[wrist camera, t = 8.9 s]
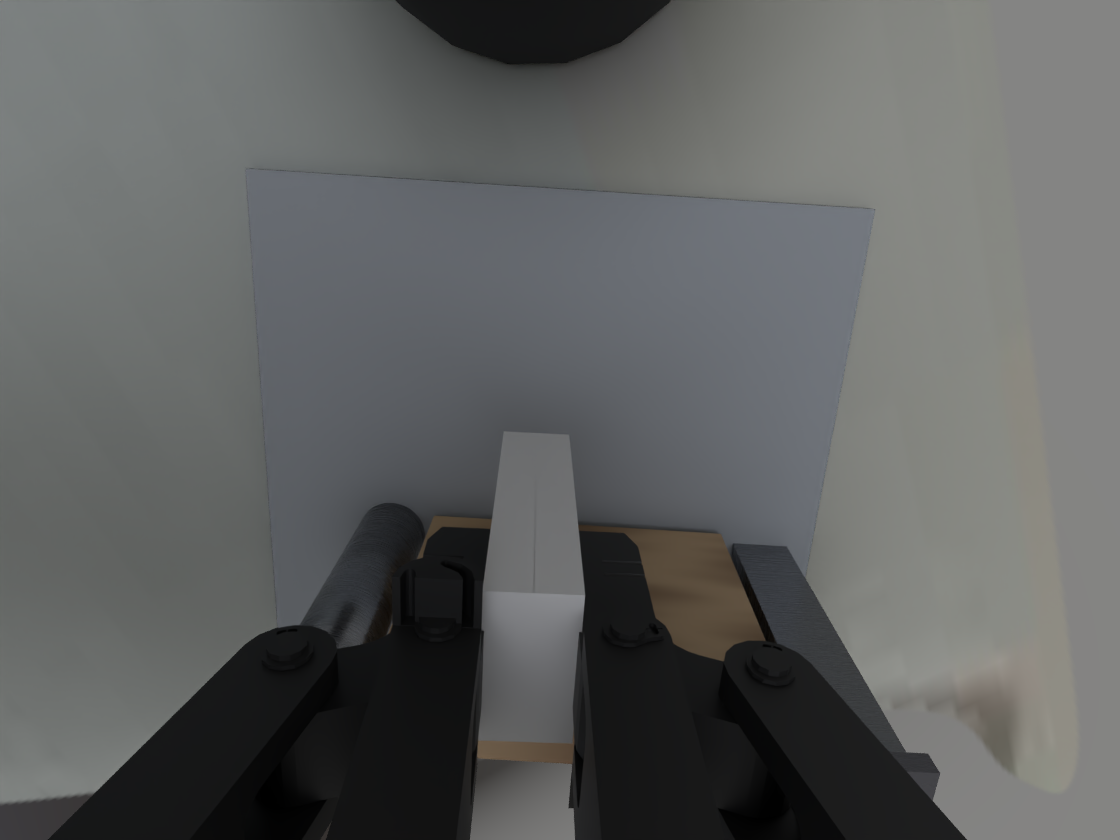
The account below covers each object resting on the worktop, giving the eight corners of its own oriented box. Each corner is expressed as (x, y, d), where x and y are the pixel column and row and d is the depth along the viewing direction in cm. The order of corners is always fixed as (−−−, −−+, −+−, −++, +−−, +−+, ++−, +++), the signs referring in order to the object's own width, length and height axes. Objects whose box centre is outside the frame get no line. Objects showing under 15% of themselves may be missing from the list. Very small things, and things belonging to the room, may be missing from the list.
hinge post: (355, 560, 28) (220, 808, 17) (353, 488, 27) (209, 702, 16) (434, 565, 28) (349, 815, 17) (435, 493, 27) (345, 710, 16)
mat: (281, 623, 29) (277, 629, 29) (250, 168, 24) (245, 168, 23) (787, 653, 29) (789, 659, 29) (870, 208, 24) (875, 209, 24)
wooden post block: (433, 571, 28) (372, 751, 19) (434, 507, 27) (370, 666, 18) (717, 589, 28) (784, 776, 19) (727, 526, 27) (802, 693, 18)
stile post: (713, 600, 29) (803, 866, 18) (723, 530, 28) (825, 766, 17) (780, 604, 29) (911, 873, 18) (793, 534, 28) (940, 773, 17)
